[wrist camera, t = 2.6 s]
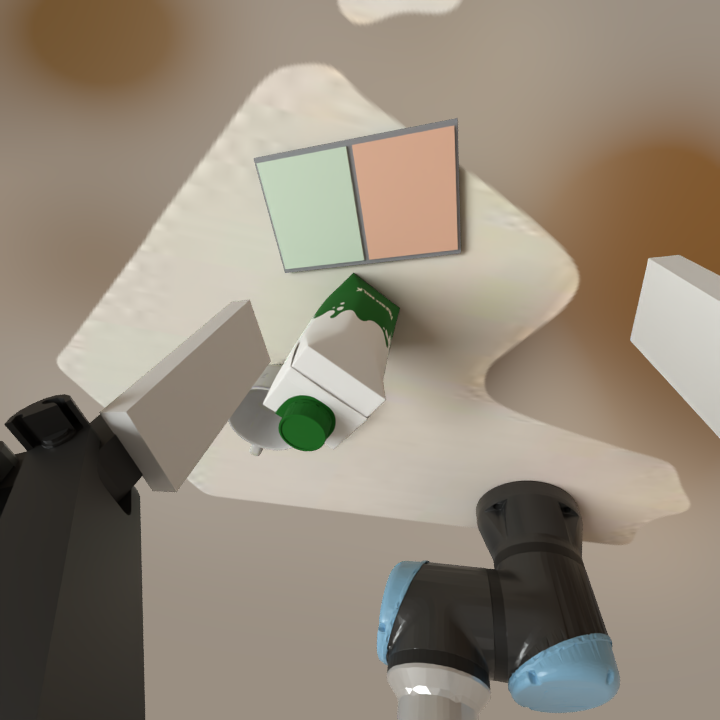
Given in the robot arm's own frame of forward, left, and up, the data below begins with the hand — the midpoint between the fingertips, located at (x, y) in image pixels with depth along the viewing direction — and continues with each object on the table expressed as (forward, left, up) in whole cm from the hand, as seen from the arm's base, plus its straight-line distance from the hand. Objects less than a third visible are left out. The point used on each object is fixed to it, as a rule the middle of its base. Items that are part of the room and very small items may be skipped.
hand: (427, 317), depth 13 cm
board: (0, +8, -29) cm, 30 cm away
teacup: (-24, +24, -29) cm, 44 cm away
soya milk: (-12, +10, -29) cm, 33 cm away
